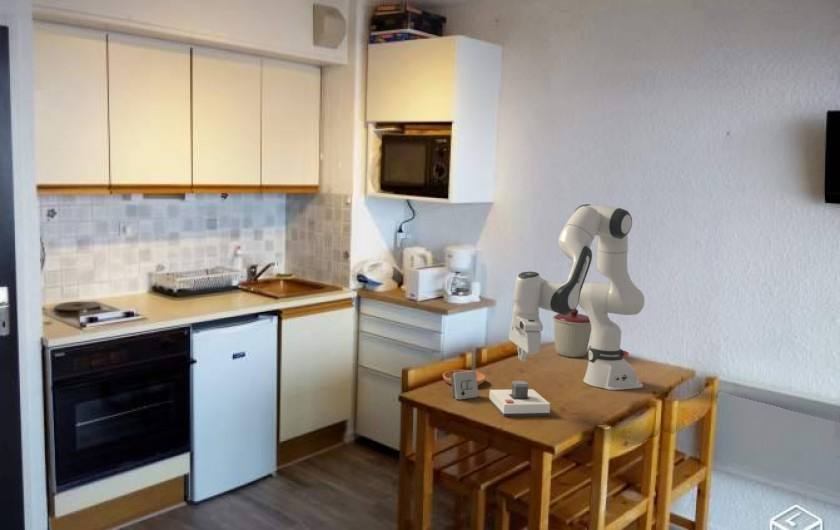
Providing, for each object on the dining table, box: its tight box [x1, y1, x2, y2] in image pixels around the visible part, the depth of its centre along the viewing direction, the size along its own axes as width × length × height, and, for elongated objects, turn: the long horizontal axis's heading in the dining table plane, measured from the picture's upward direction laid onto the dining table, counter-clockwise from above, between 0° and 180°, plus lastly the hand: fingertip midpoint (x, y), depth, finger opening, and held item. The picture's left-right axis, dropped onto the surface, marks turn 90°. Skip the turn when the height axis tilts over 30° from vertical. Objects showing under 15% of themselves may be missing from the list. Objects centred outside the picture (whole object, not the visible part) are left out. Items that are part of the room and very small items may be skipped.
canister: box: [552, 308, 591, 358], centre depth 325 cm, size 18×18×21 cm
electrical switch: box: [451, 370, 479, 400], centre depth 257 cm, size 9×5×9 cm, turn 121°
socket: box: [488, 388, 551, 418], centre depth 248 cm, size 16×16×5 cm
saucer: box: [442, 369, 486, 387], centre depth 275 cm, size 16×16×3 cm
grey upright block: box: [511, 380, 529, 400], centre depth 248 cm, size 4×4×8 cm
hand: (522, 360), depth 246 cm, fingers closed
